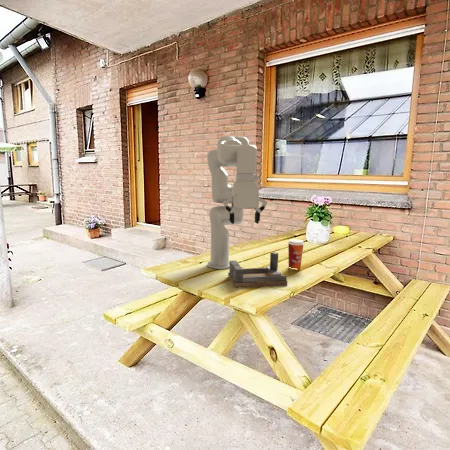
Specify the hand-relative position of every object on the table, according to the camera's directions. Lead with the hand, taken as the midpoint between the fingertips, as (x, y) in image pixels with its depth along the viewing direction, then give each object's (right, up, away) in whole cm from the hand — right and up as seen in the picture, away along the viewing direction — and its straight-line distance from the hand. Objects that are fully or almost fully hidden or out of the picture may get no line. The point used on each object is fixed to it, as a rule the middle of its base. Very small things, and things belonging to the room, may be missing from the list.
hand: (244, 223), depth 129 cm
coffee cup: (+29, -24, +45) cm, 59 cm away
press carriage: (+15, -24, +27) cm, 39 cm away
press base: (+7, -27, +26) cm, 38 cm away
